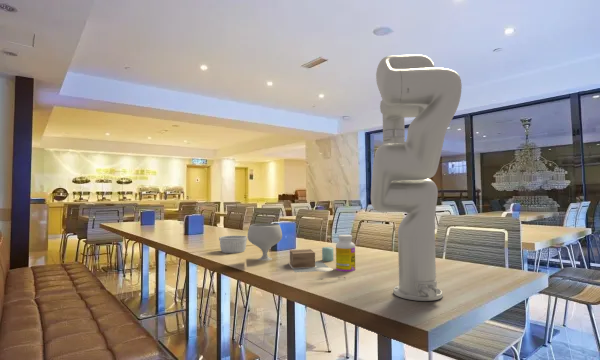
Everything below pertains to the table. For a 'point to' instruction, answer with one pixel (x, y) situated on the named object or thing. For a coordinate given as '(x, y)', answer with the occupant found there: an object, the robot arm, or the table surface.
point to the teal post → (327, 254)
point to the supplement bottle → (345, 254)
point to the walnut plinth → (302, 258)
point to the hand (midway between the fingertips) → (394, 184)
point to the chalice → (264, 237)
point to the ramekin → (233, 244)
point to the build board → (313, 268)
